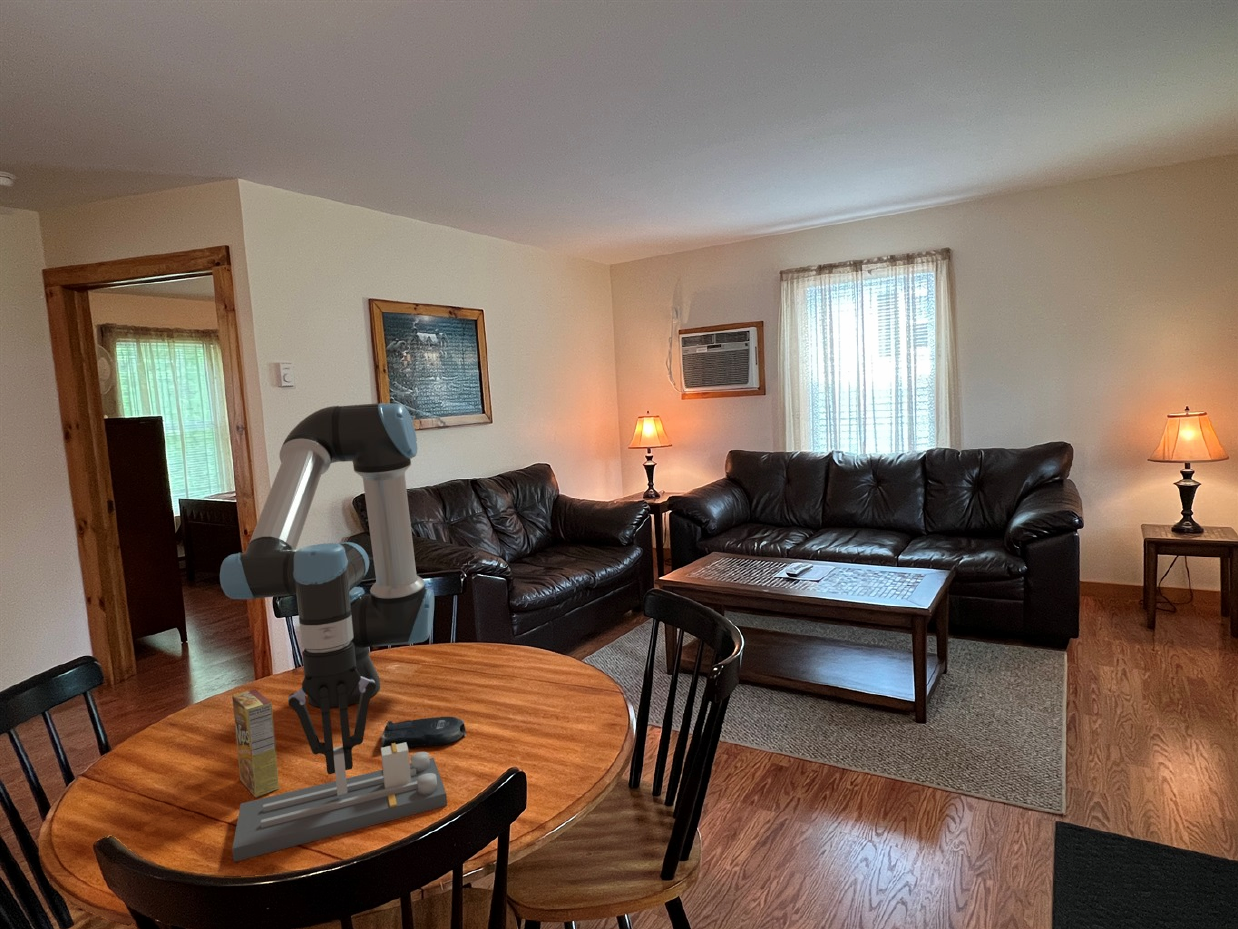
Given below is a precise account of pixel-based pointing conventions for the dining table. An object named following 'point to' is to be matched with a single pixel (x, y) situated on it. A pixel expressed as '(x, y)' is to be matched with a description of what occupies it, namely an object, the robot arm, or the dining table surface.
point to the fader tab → (395, 765)
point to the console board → (334, 809)
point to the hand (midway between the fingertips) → (342, 790)
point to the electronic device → (424, 732)
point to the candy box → (255, 742)
